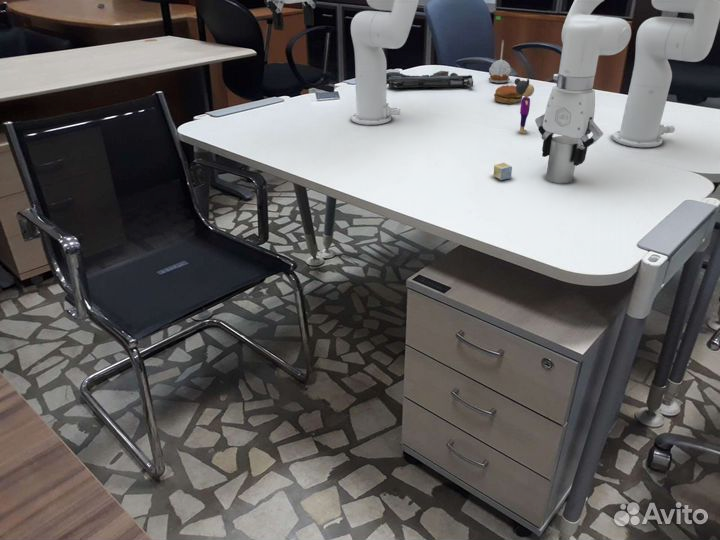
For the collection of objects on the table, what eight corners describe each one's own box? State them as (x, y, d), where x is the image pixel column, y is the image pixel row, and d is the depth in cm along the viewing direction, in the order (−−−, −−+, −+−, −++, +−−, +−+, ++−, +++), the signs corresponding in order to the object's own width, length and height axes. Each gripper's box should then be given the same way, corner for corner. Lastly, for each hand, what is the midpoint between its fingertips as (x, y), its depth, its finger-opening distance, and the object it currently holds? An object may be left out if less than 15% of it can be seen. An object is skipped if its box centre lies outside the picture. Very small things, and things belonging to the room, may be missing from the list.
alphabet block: (500, 180, 135) (501, 168, 134) (492, 176, 138) (494, 164, 136) (511, 178, 136) (512, 166, 135) (503, 174, 139) (504, 162, 137)
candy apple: (512, 80, 221) (516, 39, 213) (505, 84, 216) (509, 42, 208) (493, 78, 225) (496, 38, 217) (485, 82, 219) (489, 41, 211)
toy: (529, 138, 161) (536, 84, 154) (509, 137, 162) (515, 83, 155) (527, 127, 170) (534, 75, 162) (508, 126, 171) (514, 75, 163)
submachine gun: (465, 67, 229) (475, 77, 207) (464, 78, 231) (474, 89, 209) (384, 68, 229) (385, 79, 207) (384, 79, 231) (385, 91, 209)
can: (566, 173, 139) (572, 135, 134) (577, 182, 134) (584, 143, 129) (541, 174, 138) (547, 136, 133) (551, 184, 133) (557, 145, 128)
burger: (499, 104, 192) (501, 90, 189) (490, 98, 200) (491, 84, 197) (527, 103, 193) (529, 89, 190) (517, 96, 201) (518, 82, 198)
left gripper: (268, -49, 127) (276, 33, 136) (326, -52, 137) (329, 24, 146) (249, -49, 132) (257, 30, 141) (306, -52, 142) (310, 22, 151)
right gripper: (531, 79, 128) (521, 154, 137) (604, 92, 117) (588, 173, 126) (549, 73, 132) (539, 147, 141) (621, 86, 121) (605, 165, 130)
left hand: (294, 27), depth 143 cm, fingers open, 9 cm apart
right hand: (562, 159), depth 133 cm, fingers open, 7 cm apart
